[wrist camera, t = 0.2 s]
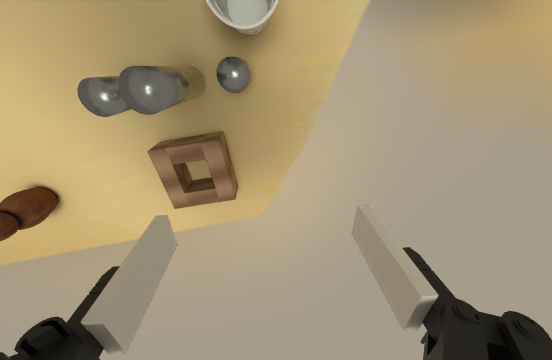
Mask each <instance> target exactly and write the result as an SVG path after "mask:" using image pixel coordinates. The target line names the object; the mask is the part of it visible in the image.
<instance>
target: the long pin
mask: <svg viewBox="0 0 552 360" xmlns="http://www.w3.org/2000/svg"><path fill="white" fill-rule="evenodd" d="M204 86H205V83H204V78H203V76H202V74H201V73H200V72H199V71H198V70H197V69H195V68H193V67H169V66H131V67H128V68H126V69H124V70H123V71H122V72H121V74H120V76H119V78H118V89H119V93H120V95H121V97H122V99H123V100H124V102H125V103H126V104H127V105H128V106H129V107H130V108H132V109H133V110H135V111H137V112H139V113H142V114H147V115H150V114H155V113H158V112H160V111H162V110H164V109H167V108H169V107H171V106H174V105H176V104H178V103H181V102H183V101H185V100H188V99H190V98H192V97H195V96H197V95H199V94H200V93H201V92H202V91H203V89H204Z"/></svg>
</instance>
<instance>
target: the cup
mask: <svg viewBox="0 0 552 360" xmlns="http://www.w3.org/2000/svg"><path fill="white" fill-rule="evenodd" d="M278 1H279V0H206V2H207V4H208V6H209V7H210V9H211V10H212V12H213V13H214V14H215V15H216V16H217V17H218V18H219V19H220V20H221V21H223V22H224V23H226V24H227V25H229V26H231V27H233V28H235V29H236V30H237V31H239V32H240V33H242V34H245V35H254V34H257V33H259V32H260V31H261V30H262V29H263V28H264V27H265V25H266V23H267V21H268V19H269V17H270V16H271V14H272V13H273V11H274V10H275V8H276V6H277V4H278Z"/></svg>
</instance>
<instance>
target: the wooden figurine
mask: <svg viewBox="0 0 552 360" xmlns="http://www.w3.org/2000/svg"><path fill="white" fill-rule="evenodd" d="M56 205H57V198H56V196H55V195H54V193H52V192H51V191H49V190H47V189H44V188H32V189H28V190H23V191H20V192H17V193H14V194H12V195H10V196H8V197H7V198H5V199H4V200H3V201H2V202H1V203H0V241H2V240H5V239H7V238H9V237H10V236H12V235H13V234H15V233H16V232H17V230H23V229H27V228H30V227H33V226H35V225H37V224H39V223H41V222H42V221H44V220H45V219H46V218H47V217H48V216H49V214H50V213H51V212H52V211H53V210H54V208H55V207H56Z"/></svg>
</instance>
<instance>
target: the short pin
mask: <svg viewBox="0 0 552 360" xmlns="http://www.w3.org/2000/svg"><path fill="white" fill-rule="evenodd" d="M251 77H252V72H251V69H250V66H249V65H248V64H247V63H246V62H245V61H244V60H242V59H239V58H237V57H227V58H225V59H223V60H222V61H221V62H220V63H219V65H218V68H217V78H218V81H219V83H220V85H221V86H222V87H223V88H224V89H225V90H227V91H229V92H232V93H238V92H241V91H242V90H244V89H245V88H246V87H247V85H248V84H249V83H250V81H251Z"/></svg>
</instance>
